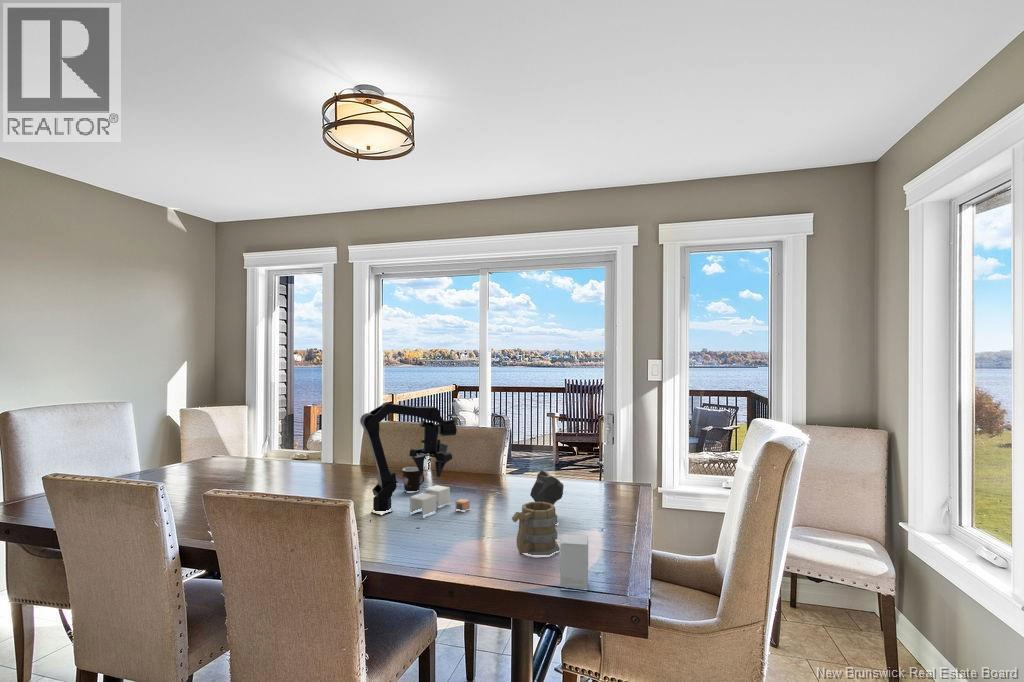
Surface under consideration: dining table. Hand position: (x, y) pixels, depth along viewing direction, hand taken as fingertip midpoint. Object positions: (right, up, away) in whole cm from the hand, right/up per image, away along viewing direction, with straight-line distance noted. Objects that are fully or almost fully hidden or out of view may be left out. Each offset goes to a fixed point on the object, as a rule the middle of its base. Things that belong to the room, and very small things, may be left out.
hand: (430, 475), depth 214 cm
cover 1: (-1, -12, -12) cm, 17 cm away
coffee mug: (-11, -13, +19) cm, 26 cm away
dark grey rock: (+47, -12, -15) cm, 51 cm away
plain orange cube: (+14, -12, -7) cm, 20 cm away
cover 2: (+3, -12, 0) cm, 13 cm away
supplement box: (+50, -11, -73) cm, 89 cm away
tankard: (+40, -12, -50) cm, 65 cm away
